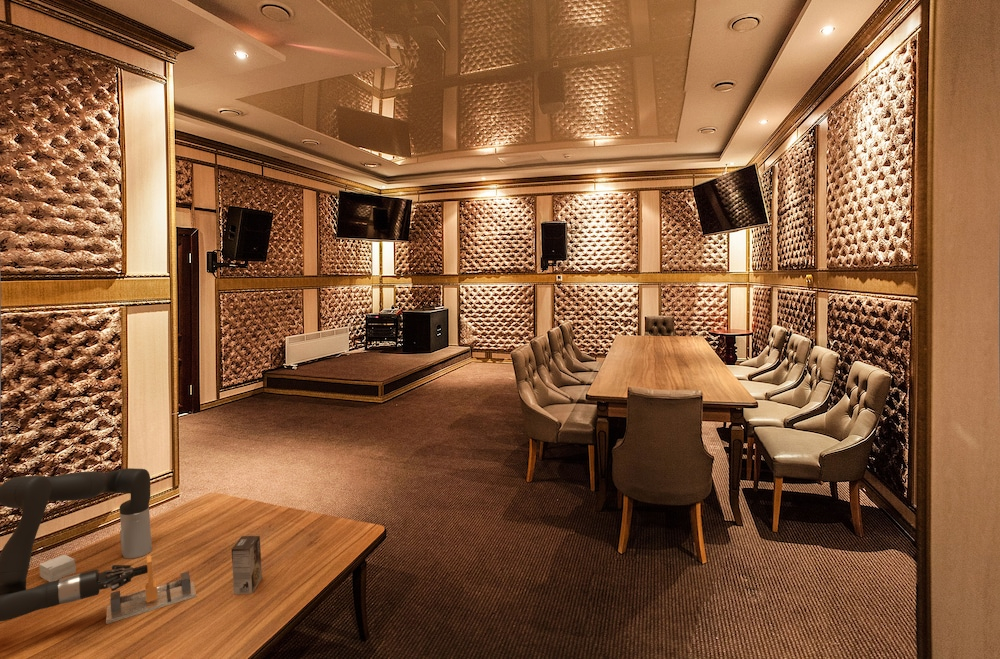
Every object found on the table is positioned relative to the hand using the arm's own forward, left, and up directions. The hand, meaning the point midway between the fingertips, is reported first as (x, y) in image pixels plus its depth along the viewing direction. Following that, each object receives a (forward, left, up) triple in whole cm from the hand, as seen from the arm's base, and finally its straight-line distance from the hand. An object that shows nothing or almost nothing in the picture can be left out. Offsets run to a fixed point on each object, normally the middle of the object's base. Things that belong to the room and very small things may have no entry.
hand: (147, 568), depth 170 cm
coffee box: (+22, +19, -12) cm, 32 cm away
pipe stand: (0, +1, -12) cm, 12 cm away
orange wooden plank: (0, +1, -10) cm, 10 cm away
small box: (-47, 0, -12) cm, 49 cm away
